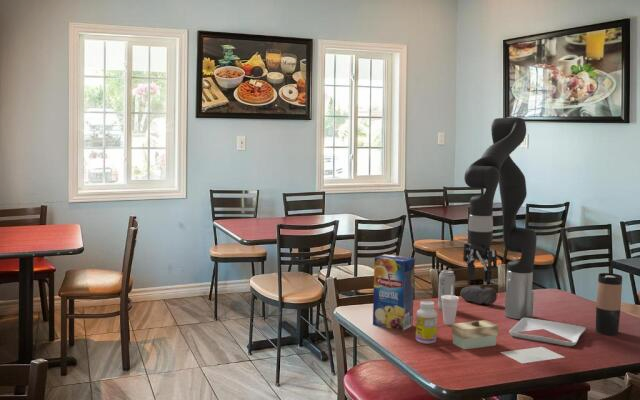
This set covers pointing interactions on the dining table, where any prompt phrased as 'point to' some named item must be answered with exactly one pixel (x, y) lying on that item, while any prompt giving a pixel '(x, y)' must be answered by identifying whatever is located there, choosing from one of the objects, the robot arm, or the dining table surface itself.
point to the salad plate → (555, 327)
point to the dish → (474, 342)
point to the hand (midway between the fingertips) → (479, 278)
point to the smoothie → (449, 307)
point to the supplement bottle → (426, 323)
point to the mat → (532, 355)
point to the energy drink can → (445, 285)
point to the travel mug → (608, 303)
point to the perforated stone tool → (479, 294)
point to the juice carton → (393, 291)
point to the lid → (474, 329)
